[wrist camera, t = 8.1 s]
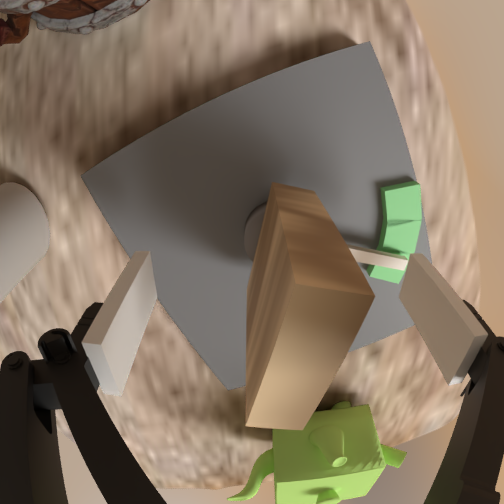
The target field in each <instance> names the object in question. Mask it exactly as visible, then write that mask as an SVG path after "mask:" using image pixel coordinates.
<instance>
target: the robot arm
mask: <svg viewBox="0 0 504 504" xmlns="http://www.w3.org/2000/svg"><path fill="white" fill-rule="evenodd" d="M399 299H400V300H401V302H402V304H403V305H404V307H405V309H406V310H407V312H408V314H409V315H410V317H411V319H412V320H413V322H414V324H415V326H416V327H417V329H418V331H419V332H420V334H421V336H422V338H423V339H424V341H425V343H426V345H427V347H428V348H429V350H430V352H431V354H432V356H433V357H434V359H435V361H436V363H437V365H438V367H439V369H440V370H441V372H442V374H443V376H444V378H445V380H446V382H447V384H448V386H449V385H453V384H458V383H462V381H463V380H464V378H465V376H466V375H467V373H468V374H469V376H470V377H471V379H470V381H469V382H468V384H467V386H466V387H465V389H464V390H463V392H462V394H461V395H460V396H463V395H464V393H465V396H464V399H463V403H462V406H461V410H460V413H459V417H458V419H457V423H456V425H455V428H454V431H453V434H452V437H451V440H450V443H449V446H448V448H447V451H446V454H445V456H444V459H443V461H442V464H441V466H440V469H439V471H438V473H437V476H436V478H435V480H434V482H433V485H432V487H431V489H430V491H429V493H428V495H427V498H426V500H425V502H424V504H499V502H500V493H499V492H496V491H495V486H496V483H497V479H498V475H499V471H500V467H501V463H502V459H503V454H504V337H496V336H495V334H494V333H493V332H492V330H491V329H490V328H489V326H488V325H487V324H486V323H485V321H484V320H482V317H481V316H480V315H479V314H478V312H477V311H476V310H475V309H474V307H473V306H472V305H471V304H469V303H468V302H466V301H465V300H462V299H461V298H460V297H459V296H458V295H457V293H456V292H455V291H454V290H453V288H452V287H451V286H450V285H449V284H448V282H447V281H446V280H445V279H444V278H443V277H442V275H441V274H440V273H439V272H438V271H437V270H436V268H435V267H434V266H433V265H432V264H431V263H430V262H429V260H428V259H427V258H426V257H425V256H424V255H423V254H422V253H410V256H409V261H408V264H407V268H406V272H405V276H404V280H403V283H402V287H401V290H400V294H399ZM156 300H157V292H156V286H155V280H154V274H153V267H152V261H151V254H150V251H135V253H134V254H133V256H132V257H131V259H130V261H129V262H128V264H127V265H126V267H125V269H124V270H123V272H122V273H121V275H120V277H119V278H118V280H117V282H116V283H115V285H114V286H113V288H112V290H111V291H110V293H109V295H108V297H107V298H106V300H105V302H104V303H97V302H95V303H93V304H92V305H91V306H90V307H88V308H87V309H86V310H85V312H84V314H83V315H82V317H81V319H80V320H79V322H78V325H76V327H75V328H74V330H73V332H72V333H71V335H70V333H69V332H68V331H67V330H65V329H60V328H56V329H52V330H49V331H48V332H46V333H44V334H43V335H42V336H41V337H40V339H39V341H38V348H39V350H40V352H41V354H42V356H43V358H44V359H41V360H30V358H29V356H28V355H27V354H26V353H25V352H22V351H16V352H13V353H10V354H9V355H7V356H6V357H5V358H4V360H3V361H2V364H1V368H0V504H68V500H67V495H66V490H65V485H64V479H63V474H62V468H61V461H60V455H59V446H58V437H57V427H56V416H55V409H62V410H63V413H64V416H65V418H66V421H67V423H68V425H69V428H70V430H71V432H72V435H73V437H74V439H75V442H76V444H77V446H78V448H79V450H80V452H81V455H82V456H83V459H84V461H85V463H86V465H87V467H88V469H89V471H90V472H91V475H92V476H93V478H94V480H95V482H96V484H97V485H98V488H99V489H100V491H101V493H102V495H103V496H104V498H105V500H106V502H107V503H108V504H167V503H166V502H165V501H164V499H163V498H162V497H161V495H160V494H159V493H158V491H157V490H156V488H155V487H154V486H153V484H152V483H151V482H150V480H149V479H148V477H147V476H146V474H145V473H144V471H143V470H142V468H141V467H140V465H139V464H138V462H137V461H136V459H135V458H134V456H133V455H132V453H131V452H130V450H129V448H128V447H127V445H126V444H125V442H124V440H123V439H122V437H121V435H120V434H119V432H118V430H117V429H116V427H115V425H114V423H113V422H112V420H111V418H110V416H109V415H108V413H107V411H106V409H105V407H104V405H103V403H102V402H101V400H100V398H99V396H98V394H97V390H98V387H99V385H100V387H101V389H102V391H103V393H104V394H108V395H115V396H122V394H123V391H124V388H125V385H126V382H127V379H128V376H129V373H130V370H131V367H132V364H133V362H134V359H135V356H136V353H137V350H138V348H139V345H140V342H141V339H142V337H143V334H144V331H145V329H146V326H147V323H148V321H149V318H150V316H151V313H152V310H153V308H154V305H155V303H156Z"/></svg>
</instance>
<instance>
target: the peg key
mask: <svg viewBox="0 0 504 504" xmlns="http://www.w3.org/2000/svg"><path fill="white" fill-rule="evenodd" d="M244 245H245V250H246V253H247V255H248V257H249V258H250V260H251V261H252V262H253V265H252V269H251V273H250V278H249V282H248V286H247V312H246V408H245V426H248V427H259V428H272V429H287V430H303V429H304V427H305V426H306V424H307V423H308V421H309V419H310V418H311V416H312V414H313V413H314V411H315V410H316V408H317V406H318V405H319V403H320V401H321V400H322V398H323V396H324V394H325V393H326V391H327V389H328V387H329V386H330V384H331V382H332V380H333V379H334V377H335V375H336V373H337V371H338V370H339V368H340V366H341V364H342V362H343V360H344V359H345V357H346V355H347V353H348V351H349V349H350V347H351V345H352V343H353V341H354V339H355V338H356V336H357V334H358V332H359V330H360V328H361V326H362V323H363V321H364V319H365V317H366V315H367V313H368V311H369V309H370V307H371V305H372V303H373V300H374V298H375V294H374V292H373V291H372V289H371V287H370V285H369V283H368V281H367V280H366V278H365V276H364V274H363V272H362V271H361V269H360V267H359V265H358V263H357V262H361V263H366V264H371V265H377V266H382V267H387V268H392V269H398V270H403V271H404V270H405V267H406V265H407V263H408V259H407V258H406V257H405V256H401V255H397V254H392V253H387V252H382V251H378V250H373V249H368V248H363V247H359V246H354V245H349V244H346V242H345V241H344V239H343V237H342V236H341V234H340V232H339V231H338V229H337V227H336V226H335V224H334V222H333V221H332V219H331V217H330V216H329V214H328V212H327V211H326V209H325V207H324V206H323V204H322V203H321V201H320V199H319V198H318V196H317V195H316V193H315V191H312V190H308V189H303V188H298V187H294V186H289V185H285V184H280V183H275V182H272V184H271V188H270V192H269V197H268V201H267V202H265V203H262V204H260V205H259V206H257V207H256V208H255V209H254V210H253V211H252V212H251V213H250V214H249V216H248V218H247V220H246V223H245V235H244Z"/></svg>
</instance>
